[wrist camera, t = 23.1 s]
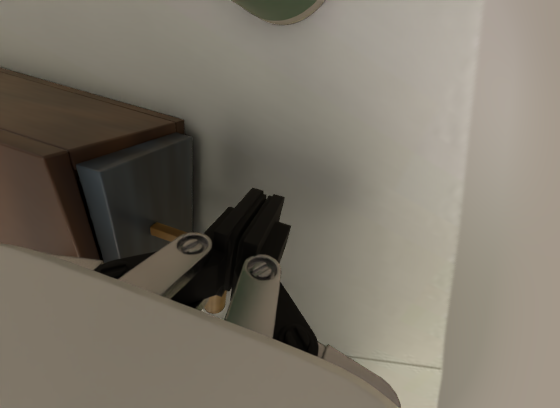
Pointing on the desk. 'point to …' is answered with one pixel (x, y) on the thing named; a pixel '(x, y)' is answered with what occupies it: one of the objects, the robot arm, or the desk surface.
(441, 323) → the desk surface
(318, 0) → the can
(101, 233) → the drawer
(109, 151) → the cabinet
